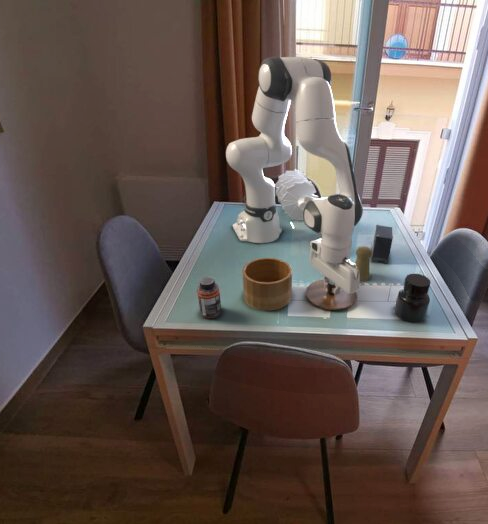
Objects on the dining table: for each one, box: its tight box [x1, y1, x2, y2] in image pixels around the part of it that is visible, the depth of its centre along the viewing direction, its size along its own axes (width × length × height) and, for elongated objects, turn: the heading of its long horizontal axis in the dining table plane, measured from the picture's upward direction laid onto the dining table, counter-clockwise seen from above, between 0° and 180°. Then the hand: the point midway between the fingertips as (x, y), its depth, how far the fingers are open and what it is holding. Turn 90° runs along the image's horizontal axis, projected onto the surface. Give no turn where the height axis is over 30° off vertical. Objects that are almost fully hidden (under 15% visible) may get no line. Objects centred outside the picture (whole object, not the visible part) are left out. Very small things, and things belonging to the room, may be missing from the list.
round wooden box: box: [241, 257, 293, 312], centre depth 108 cm, size 15×15×10 cm
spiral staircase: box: [274, 168, 320, 222], centre depth 165 cm, size 18×18×25 cm
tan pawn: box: [354, 245, 372, 282], centre depth 120 cm, size 6×6×11 cm
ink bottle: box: [394, 272, 432, 323], centre depth 103 cm, size 10×9×12 cm
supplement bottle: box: [196, 276, 222, 319], centre depth 100 cm, size 6×6×11 cm
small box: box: [370, 224, 394, 264], centre depth 133 cm, size 11×6×10 cm, turn 168°
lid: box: [305, 278, 358, 311], centre depth 111 cm, size 16×16×5 cm
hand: (331, 290), depth 111 cm, fingers closed on lid, 2 cm apart
